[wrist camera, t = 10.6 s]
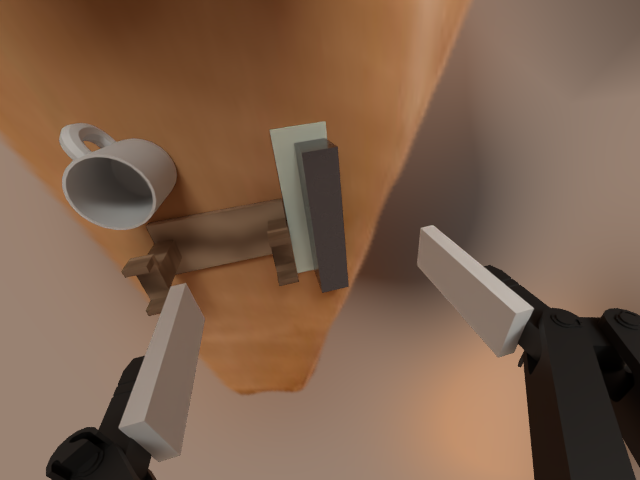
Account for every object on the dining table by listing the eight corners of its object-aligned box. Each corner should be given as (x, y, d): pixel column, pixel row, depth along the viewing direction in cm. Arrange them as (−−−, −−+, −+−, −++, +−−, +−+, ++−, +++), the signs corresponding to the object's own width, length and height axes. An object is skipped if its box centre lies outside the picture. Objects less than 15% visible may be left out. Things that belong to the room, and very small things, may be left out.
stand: (148, 223, 35) (116, 265, 27) (281, 198, 37) (289, 230, 29) (172, 271, 39) (150, 321, 31) (290, 246, 41) (300, 286, 33)
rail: (314, 269, 44) (322, 292, 39) (294, 143, 34) (301, 152, 29) (337, 263, 45) (348, 286, 39) (324, 137, 34) (337, 146, 29)
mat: (269, 129, 33) (269, 130, 32) (324, 121, 34) (325, 121, 33) (297, 271, 44) (297, 273, 44) (338, 262, 45) (338, 263, 45)
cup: (146, 208, 34) (116, 243, 27) (69, 139, 29) (4, 157, 21) (191, 176, 34) (173, 203, 26) (120, 100, 28) (72, 104, 21)
